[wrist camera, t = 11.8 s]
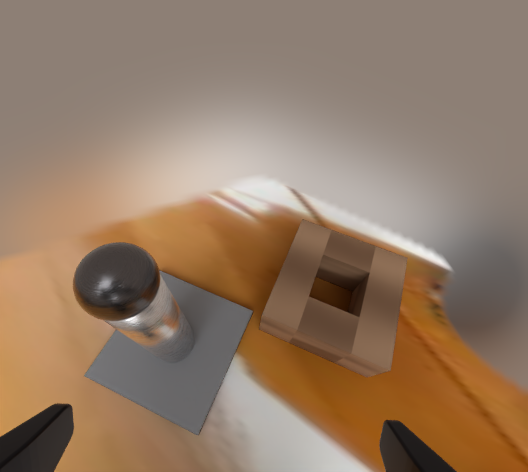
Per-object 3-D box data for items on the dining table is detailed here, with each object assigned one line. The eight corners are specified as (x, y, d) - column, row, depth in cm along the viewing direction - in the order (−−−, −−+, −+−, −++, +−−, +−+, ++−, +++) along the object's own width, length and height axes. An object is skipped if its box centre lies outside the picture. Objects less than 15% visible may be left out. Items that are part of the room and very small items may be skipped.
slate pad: (198, 434, 19) (197, 435, 18) (87, 376, 20) (84, 375, 20) (252, 313, 24) (252, 310, 23) (159, 272, 25) (157, 269, 24)
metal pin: (197, 360, 21) (146, 299, 10) (151, 367, 20) (45, 312, 9) (195, 317, 22) (150, 223, 11) (153, 323, 22) (64, 231, 11)
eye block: (367, 377, 22) (390, 370, 18) (258, 329, 23) (261, 314, 20) (385, 278, 26) (407, 257, 23) (295, 242, 28) (302, 219, 24)
